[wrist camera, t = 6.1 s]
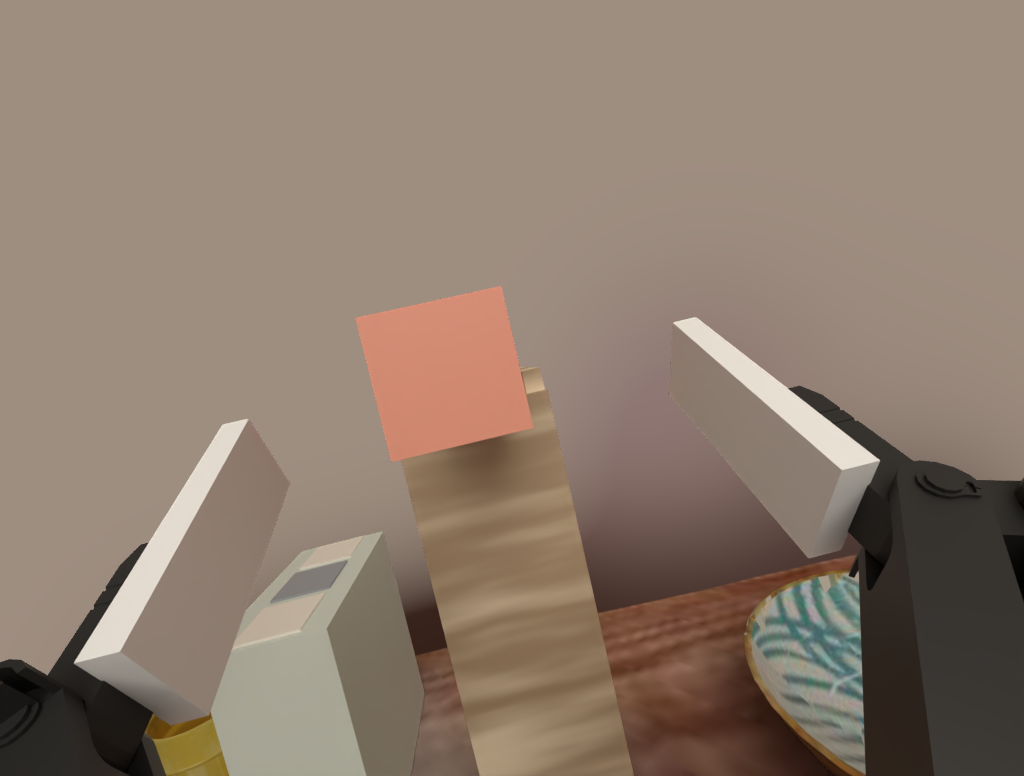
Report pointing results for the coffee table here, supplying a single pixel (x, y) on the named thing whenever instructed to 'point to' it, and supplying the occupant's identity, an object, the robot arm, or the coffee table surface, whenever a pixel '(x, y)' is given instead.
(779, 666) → the bowl
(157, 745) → the plant pot
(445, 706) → the coffee table surface
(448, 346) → the coral square-faced block
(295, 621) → the pale green paneled block
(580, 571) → the birch stand
